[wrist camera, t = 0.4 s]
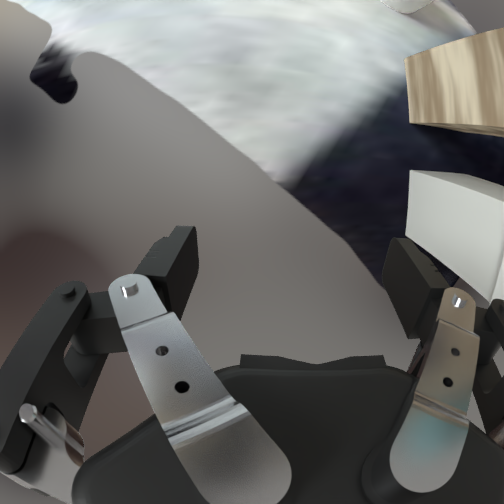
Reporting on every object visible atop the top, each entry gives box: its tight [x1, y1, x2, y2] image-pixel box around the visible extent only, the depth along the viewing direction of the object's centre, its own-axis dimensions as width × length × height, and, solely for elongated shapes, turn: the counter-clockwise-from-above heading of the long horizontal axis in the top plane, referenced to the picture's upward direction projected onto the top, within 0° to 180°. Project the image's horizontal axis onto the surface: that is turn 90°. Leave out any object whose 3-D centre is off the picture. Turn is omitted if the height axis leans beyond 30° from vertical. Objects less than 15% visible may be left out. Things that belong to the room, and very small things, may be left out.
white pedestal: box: [405, 170, 504, 306], centre depth 27 cm, size 18×12×24 cm, turn 94°
